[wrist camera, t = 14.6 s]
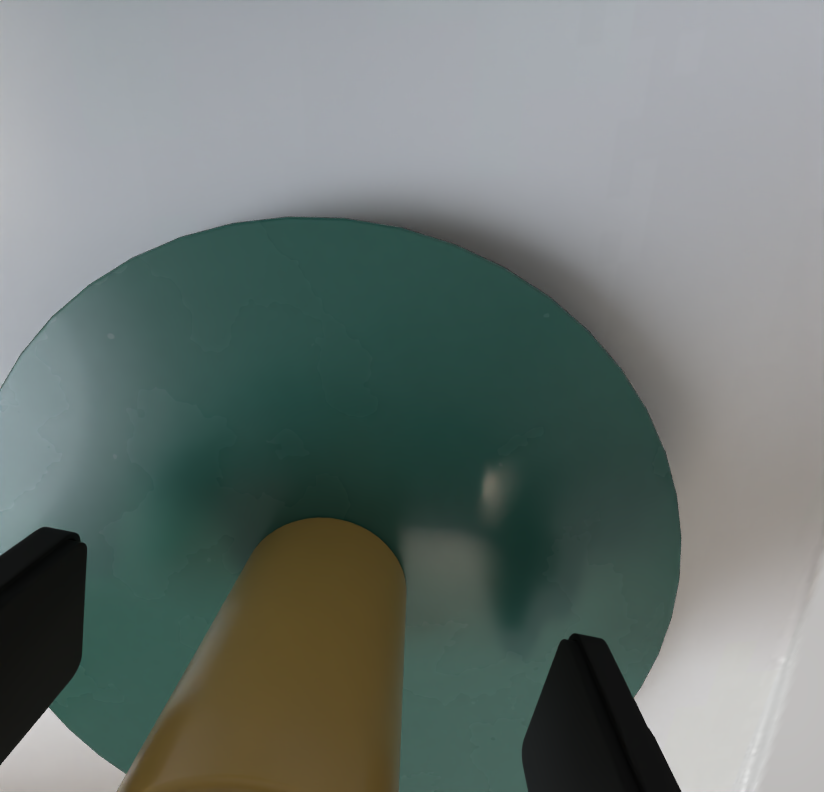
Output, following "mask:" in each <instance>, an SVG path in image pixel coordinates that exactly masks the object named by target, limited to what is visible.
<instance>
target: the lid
mask: <svg viewBox="0 0 824 792" xmlns="http://www.w3.org/2000/svg"><path fill="white" fill-rule="evenodd" d="M41 527H51V528H56V529H60V530H65V531H70V532H75V533H77V534H79V536H80V541H81V542H83V543H85V544H86V546H87V564H86V584H85V605H84V625H83V645H82V658H81V662H80V665H79V667H78V670H77V671H76V673H75V675H74V676H73V678H72V679H71V681H70V682H69V683H68V684H67V685H66V687H65V688H64V689H63V690H62V691H61V693H60V694H59V695H58V696H57V697H56V699H55V700H54V701H53V702H52V703H51V705H50V706H49V708H50V709H51V710H52V711H53V712H54V714H55V715H56V716H57V717H58V718H59V719H60V720H61V721H62V722H63V723H64V724H65V725H66V727H67V728H68V729H69V730H70V731H72V732H73V733H74V734H75V735H76V736H77V737H79V738H80V739H81V740H82V741H83V742H84V743H85V744H87V745H88V746H89V747H90V748H91V749H92V750H94V751H95V752H96V753H97V754H98V755H99V756H101V757H102V758H104V759H105V760H107V761H108V762H109V763H111V764H112V765H114V766H115V767H117V768H118V769H120V770H121V771H122V772H124V773H125V774H126V776H125V778H124V779H123V781H122V783H121V785H120V786H119V788H118V790H117V792H528V789H527V784H526V779H525V774H524V769H523V764H522V745H523V740H524V737H525V735H526V732H527V729H528V727H529V724H530V721H531V718H532V716H533V713H534V710H535V708H536V705H537V702H538V700H539V697H540V694H541V691H542V689H543V686H544V683H545V681H546V678H547V675H548V673H549V670H550V667H551V665H552V662H553V659H554V656H555V654H556V651H557V648H558V646H559V643H560V641H561V640H562V639H567V640H568V639H569V637H570V635H572V634H573V633H577V634H582V635H587V636H592V637H597V638H602V639H603V640H605V642H606V643H607V645H608V647H609V649H610V651H611V653H612V655H613V657H614V659H615V661H616V663H617V665H618V667H619V669H620V671H621V673H622V675H623V677H624V679H625V682H626V684H627V686H628V688H629V690H630V692H631V694H632V696H633V698H634V696H635V695H636V694H637V692H638V691H639V689H640V688H641V686H642V684H643V682H644V681H645V679H646V677H647V675H648V673H649V671H650V669H651V667H652V665H653V664H654V662H655V660H656V658H657V656H658V654H659V651H660V648H661V646H662V643H663V640H664V637H665V634H666V632H667V629H668V626H669V623H670V621H671V618H672V613H673V608H674V603H675V598H676V593H677V588H678V583H679V576H680V555H681V530H680V521H679V511H678V502H677V494H676V490H675V486H674V483H673V479H672V475H671V471H670V467H669V464H668V460H667V456H666V452H665V450H664V448H663V445H662V443H661V441H660V438H659V436H658V434H657V432H656V429H655V427H654V425H653V422H652V420H651V418H650V415H649V413H648V411H647V409H646V407H645V406H644V404H643V403H642V401H641V399H640V398H639V396H638V395H637V393H636V391H635V390H634V388H633V387H632V385H631V383H630V382H629V380H628V379H627V377H626V376H625V374H624V372H623V371H622V369H621V368H620V367H619V366H618V364H617V363H616V362H615V361H614V360H613V359H612V357H611V356H610V355H609V354H608V353H607V352H606V350H605V349H604V348H603V347H602V346H601V345H600V343H599V342H598V341H597V340H596V339H595V338H594V336H593V335H592V334H591V333H590V332H589V331H588V330H587V329H586V328H585V327H584V326H583V325H581V324H580V323H579V322H578V321H577V320H576V319H575V318H573V317H572V316H571V315H570V314H569V313H568V312H567V311H565V310H564V309H563V308H562V307H561V306H560V305H559V304H557V303H556V302H555V301H554V300H553V299H552V298H551V297H549V296H548V295H546V294H545V293H543V292H542V291H540V290H539V289H537V288H536V287H534V286H532V285H531V284H529V283H528V282H526V281H525V280H523V279H522V278H520V277H519V276H517V275H516V274H514V273H512V272H511V271H509V270H508V269H506V268H505V267H503V266H501V265H499V264H496V263H494V262H492V261H490V260H488V259H486V258H484V257H481V256H479V255H477V254H475V253H473V252H471V251H469V250H467V249H464V248H462V247H460V246H458V245H456V244H453V243H450V242H447V241H444V240H440V239H437V238H434V237H431V236H428V235H424V234H421V233H418V232H415V231H411V230H408V229H405V228H402V227H397V226H391V225H385V224H379V223H372V222H366V221H360V220H354V219H348V218H327V217H280V218H271V219H263V220H254V221H245V222H237V223H231V224H227V225H224V226H220V227H216V228H212V229H208V230H205V231H201V232H197V233H193V234H189V235H186V236H182V237H179V238H177V239H174V240H172V241H170V242H167V243H165V244H163V245H161V246H158V247H156V248H154V249H151V250H149V251H147V252H144V253H142V254H140V255H137V256H135V257H133V258H131V259H129V260H128V261H126V262H124V263H123V264H121V265H120V266H118V267H116V268H115V269H113V270H112V271H110V272H108V273H107V274H105V275H104V276H102V277H100V278H99V279H97V280H96V281H94V282H92V283H91V284H89V285H88V286H87V287H86V288H85V289H83V290H82V291H81V292H80V293H79V294H78V295H77V296H75V297H74V298H73V299H72V300H71V301H70V302H68V303H67V304H66V305H65V306H64V307H63V308H61V309H60V310H59V311H58V312H57V313H56V314H55V315H53V316H52V317H51V319H50V320H49V321H48V322H47V323H46V324H45V326H44V327H43V328H42V329H41V330H40V332H39V333H38V334H37V335H36V336H35V338H34V339H33V340H32V341H31V342H30V344H29V345H28V346H27V347H26V348H25V350H24V351H23V352H22V353H21V355H20V356H19V358H18V360H17V361H16V363H15V365H14V366H13V368H12V370H11V372H10V373H9V375H8V377H7V378H6V380H5V382H4V383H3V385H2V387H1V388H0V555H2V554H3V553H5V552H6V551H8V550H9V549H10V548H12V547H13V546H15V545H16V544H17V543H19V542H20V541H22V540H23V539H25V538H26V537H27V536H29V535H30V534H32V533H33V532H34V531H36V530H38V529H39V528H41Z"/></svg>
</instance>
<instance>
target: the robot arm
mask: <svg viewBox="0 0 824 792" xmlns="http://www.w3.org/2000/svg"><path fill="white" fill-rule="evenodd" d="M86 564H87V546H86V544H85V543H83V542H81V541H80V536H79V534H77V533H75V532H70V531H65V530H60V529H56V528H51V527H41V528H39V529H38V530H36V531H34V532H33V533H32V534H30V535H29V536H27V537H26V538H25V539H23V540H22V541H20V542H19V543H17V544H16V545H15V546H13V547H12V548H10V549H9V550H8V551H6V552H5V553H3V554H2V555H0V765H1V764H2V762H3V761H4V760H5V759H6V758H7V756H8V755H9V754H10V753H11V752H12V750H13V749H14V748H15V747H16V746H17V744H18V743H19V742H20V741H21V740H22V738H23V737H24V736H25V735H26V733H27V732H28V731H29V730H30V729H31V727H32V726H33V725H34V724H35V723H36V721H37V720H38V719H39V718H40V717H41V715H42V714H43V713H44V712H45V711H46V709H47V708H48V707H49V706H50V705H51V703H52V702H53V701H54V700H55V699H56V697H57V696H58V695H59V694H60V693H61V691H62V690H63V689H64V688H65V687H66V685H67V684H68V683H69V682H70V681H71V679H72V678H73V676H74V675H75V673H76V671H77V670H78V667H79V665H80V662H81V658H82V645H83V625H84V605H85V584H86ZM522 764H523V769H524V774H525V779H526V784H527V789H528V792H681V790H680V788H679V786H678V784H677V782H676V780H675V778H674V776H673V774H672V772H671V770H670V768H669V766H668V764H667V762H666V759H665V757H664V755H663V753H662V751H661V749H660V747H659V745H658V743H657V741H656V739H655V737H654V736H653V734H652V732H651V731H650V729H649V728H648V727H647V725H646V723H645V721H644V718H643V716H642V714H641V712H640V710H639V708H638V706H637V704H636V702H635V700H634V698H633V696H632V694H631V692H630V690H629V688H628V686H627V684H626V682H625V679H624V677H623V675H622V673H621V671H620V669H619V667H618V665H617V663H616V661H615V659H614V657H613V655H612V653H611V651H610V649H609V647H608V645H607V643H606V642H605V640H603V639H602V638H597V637H592V636H587V635H582V634H577V633H573V634H572V635H570V637H569V639H568V640H567V639H562V640H561V641H560V643H559V646H558V648H557V651H556V654H555V656H554V659H553V662H552V665H551V667H550V670H549V673H548V675H547V678H546V681H545V683H544V686H543V689H542V691H541V694H540V697H539V700H538V702H537V705H536V708H535V710H534V713H533V716H532V718H531V721H530V724H529V727H528V729H527V732H526V735H525V737H524V740H523V745H522Z"/></svg>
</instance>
